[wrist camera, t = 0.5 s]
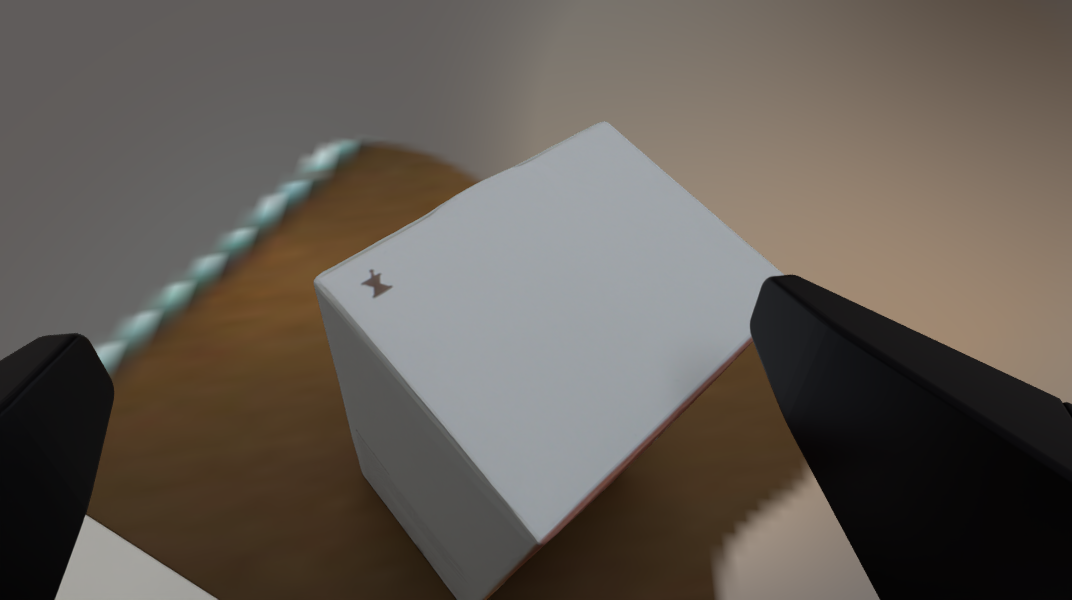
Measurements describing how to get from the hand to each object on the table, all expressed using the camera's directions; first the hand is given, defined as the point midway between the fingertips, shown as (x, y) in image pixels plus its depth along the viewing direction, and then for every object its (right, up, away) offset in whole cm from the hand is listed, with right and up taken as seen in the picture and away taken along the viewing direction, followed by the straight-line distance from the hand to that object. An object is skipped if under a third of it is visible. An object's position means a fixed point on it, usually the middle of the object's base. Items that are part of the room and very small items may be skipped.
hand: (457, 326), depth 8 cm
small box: (0, -6, +15) cm, 16 cm away
